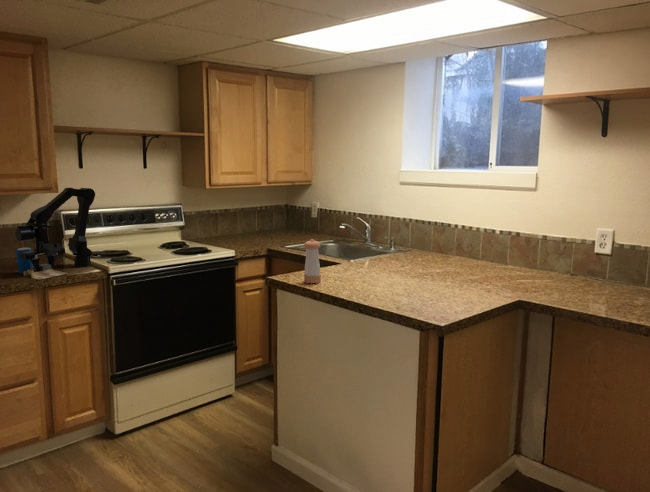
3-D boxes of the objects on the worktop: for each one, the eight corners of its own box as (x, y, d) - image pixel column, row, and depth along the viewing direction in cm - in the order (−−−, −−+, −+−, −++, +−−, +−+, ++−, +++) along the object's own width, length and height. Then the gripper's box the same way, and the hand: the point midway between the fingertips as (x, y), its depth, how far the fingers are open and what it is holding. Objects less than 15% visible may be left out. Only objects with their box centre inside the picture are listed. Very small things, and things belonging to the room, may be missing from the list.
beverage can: (27, 275, 257) (24, 250, 255) (15, 275, 258) (12, 249, 256) (37, 272, 263) (34, 247, 261) (25, 271, 265) (22, 247, 263)
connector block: (46, 271, 260) (46, 263, 259) (51, 273, 258) (50, 264, 257) (38, 273, 257) (37, 265, 256) (43, 274, 255) (42, 266, 254)
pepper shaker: (310, 285, 239) (309, 241, 235) (300, 281, 245) (300, 238, 241) (323, 282, 243) (323, 239, 240) (314, 279, 249) (314, 237, 245)
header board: (52, 271, 265) (51, 265, 264) (68, 275, 258) (68, 268, 257) (23, 277, 253) (22, 271, 252) (39, 281, 246) (38, 274, 245)
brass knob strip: (29, 275, 253) (28, 268, 253) (35, 276, 251) (34, 270, 250) (25, 276, 252) (24, 269, 251) (31, 277, 249) (30, 270, 249)
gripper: (31, 242, 242) (35, 277, 245) (70, 236, 258) (73, 269, 260) (17, 240, 248) (21, 274, 251) (56, 234, 264) (59, 266, 266)
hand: (44, 271), depth 257 cm, fingers open, 6 cm apart
